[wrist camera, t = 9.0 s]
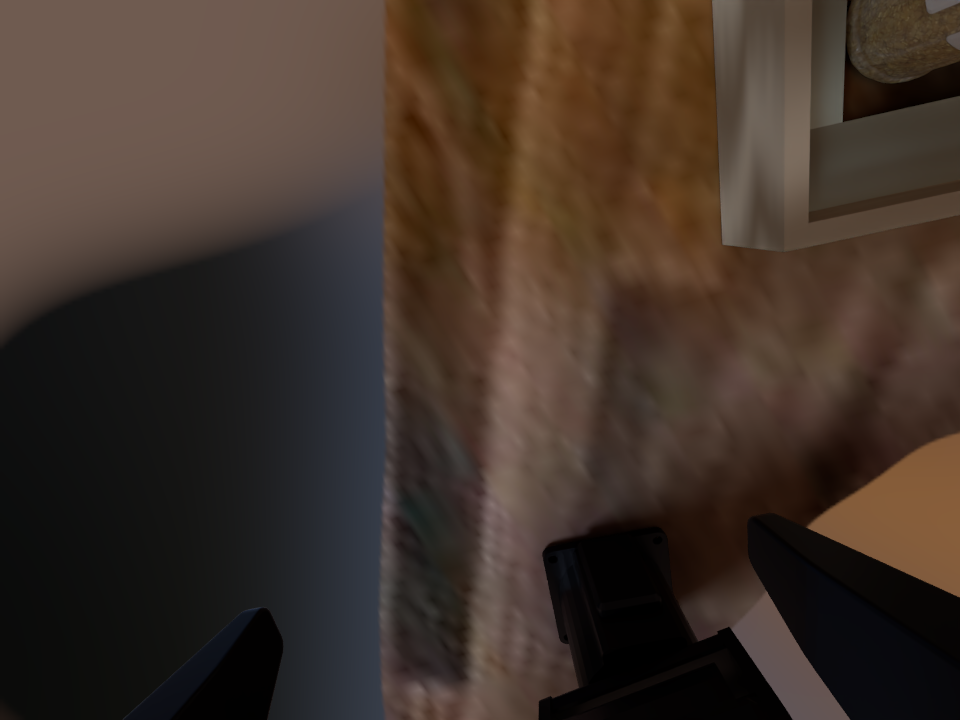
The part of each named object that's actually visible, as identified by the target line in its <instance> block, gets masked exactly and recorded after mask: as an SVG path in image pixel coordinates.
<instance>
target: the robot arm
mask: <svg viewBox="0 0 960 720" xmlns="http://www.w3.org/2000/svg"><path fill="white" fill-rule="evenodd" d="M747 529H748V555H749V559H750V562H751V564H752V566H753V568H754V570H755V572H756V573H757V575H758V577H759V579H760V580H761V582H762V584H763V585H764V587H765V589H766V591H767V592H768V594H769V596H770V597H771V599H772V601H773V602H774V604H775V606H776V607H777V609H778V611H779V613H780V614H781V616H782V618H783V619H784V621H785V623H786V625H787V626H788V628H789V630H790V632H791V633H792V635H793V637H794V638H795V640H796V642H797V643H798V645H799V646H800V648H801V650H802V651H803V653H804V655H805V656H806V658H807V659H808V661H809V662H810V663H811V665H812V666H813V668H814V669H815V671H816V672H817V674H818V675H819V676H820V678H821V679H822V681H823V682H824V683H825V685H826V686H827V688H829V690H830V692H831V693H832V695H833V696H834V697H835V699H836V700H837V702H838V703H839V704H840V706H841V707H842V709H843V710H844V711H845V713H846V714H847V716H848V717H849V718H850V720H960V597H957V596H955V595H953V594H951V593H948V592H946V591H944V590H942V589H940V588H938V587H935V586H933V585H931V584H929V583H926V582H924V581H922V580H919V579H918V578H916V577H913V576H911V575H909V574H906V573H905V572H902V571H900V570H898V569H896V568H893V567H891V566H889V565H887V564H885V563H883V562H880V561H878V560H876V559H873V558H872V557H869V556H867V555H865V554H863V553H861V552H858V551H856V550H854V549H852V548H849V547H847V546H845V545H843V544H841V543H839V542H836V541H834V540H832V539H830V538H828V537H825V536H823V535H821V534H819V533H817V532H814V531H812V530H810V529H808V528H806V527H803V526H801V525H799V524H797V523H795V522H792V521H790V520H788V519H786V518H784V517H781V516H779V515H777V514H774V513H767V514H762V515H756V516H752V517H750V518H749V519H748V524H747ZM657 536H659V537H658V538H656V539H654V538H655V537H657ZM542 556H543V561H544V566H545V571H546V576H547V580H548V585H549V590H550V595H551V600H552V604H553V609H554V614H555V619H556V624H557V629H558V633H559V638H560V641H561V642H563V643H565V644H569V646H570V650H571V655H572V659H573V664H574V668H575V672H576V677H577V681H578V686H579V688H578V689H575V690H573V691H570V692H567V693H565V694H562V695H560V696H557V697H555V698H552V697H551V696H550V697H547V698H545V699H542V700H540V701H539V720H792V718H791V716H790V715H789V713H788V712H787V710H786V709H785V707H784V706H783V704H782V703H781V701H780V700H779V698H778V697H777V695H776V694H775V693H774V691H773V690H772V688H771V687H770V685H769V684H768V682H767V681H766V679H765V678H764V677H763V675H762V674H761V672H760V671H759V669H758V668H757V666H756V665H755V663H754V662H753V660H752V659H751V658H750V656H749V655H748V653H747V652H746V650H745V649H744V647H743V646H742V644H741V643H740V642H739V640H738V639H737V637H736V636H735V634H734V633H733V631H732V630H731V628H730V627H727V628H725V629H722V630H720V631H717V633H718V634H717V635H714V636H712V637H709V638H707V639H704V640H701V641H699V642H698V640H697V638H696V636H695V634H694V632H693V630H692V629H691V627H690V625H689V623H688V621H687V619H686V617H685V615H684V613H683V612H682V610H681V608H680V606H679V604H678V602H677V600H676V598H675V597H674V595H673V592H672V582H671V571H670V561H669V551H668V541H667V536H666V535H665V533H664V531H663V530H662V529H661V528H658V527H653V528H648V529H642V530H637V531H631V532H626V533H621V534H615V535H610V536H604V537H599V538H594V539H588V540H583V541H577V542H572V543H567V544H561V545H556V546H551V547H548V548H546V549H545V550H544V551H543V553H542ZM550 556H555V557H554V558H549V557H550ZM282 654H283V639H282V636H281V634H280V632H279V630H278V627H277V625H276V624H275V621H274V619H273V617H272V615H271V612H270V611H269V610H268V609H267V608H265V607H260V608H255V609H250V610H246V611H243V612H242V613H240V614H239V615H238V616H237V617H236V618H235V619H234V620H233V621H232V622H230V623H229V624H228V625H227V626H226V627H225V628H224V629H223V630H222V631H220V632H219V633H218V634H217V635H216V636H215V637H214V638H213V639H212V640H211V641H209V642H208V643H207V644H206V645H205V646H204V647H203V648H202V649H201V650H199V651H198V652H197V653H196V654H195V655H194V656H193V657H192V658H191V659H190V660H188V661H187V662H186V663H185V664H184V665H183V666H182V667H181V668H179V669H178V670H177V671H176V672H175V673H174V674H173V675H172V676H171V677H169V678H168V679H167V680H166V681H165V682H164V683H163V684H162V685H161V686H160V687H158V688H157V689H156V690H155V691H154V692H153V693H152V694H151V695H150V696H148V698H146V699H145V700H144V701H143V702H142V703H141V704H140V705H139V706H137V707H136V708H135V709H134V710H133V711H132V712H131V713H130V714H129V715H127V716H126V717H125V718H124V719H123V720H267V719H268V714H269V710H270V706H271V701H272V697H273V692H274V688H275V684H276V680H277V675H278V671H279V666H280V663H281V658H282Z"/></svg>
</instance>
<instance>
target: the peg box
mask: <svg viewBox="0 0 960 720" xmlns="http://www.w3.org/2000/svg"><path fill="white" fill-rule="evenodd" d="M712 5H713V30H714V54H715V78H716V102H717V126H718V150H719V175H720V199H721V223H722V245H730V246H738V247H746V248H755V249H763V250H771V251H780V252H787V251H792V250H797V249H801V248H806V247H811V246H815V245H820V244H825V243H830V242H834V241H839V240H844V239H848V238H853V237H858V236H863V235H867V234H872V233H877V232H881V231H886V230H891V229H896V228H900V227H905V226H910V225H915V224H919V223H924V222H929V221H933V220H938V219H943V218H948V217H952V216H957V215H960V96H957V97H953V98H948V99H944V100H940V101H935V102H931V103H926V104H922V105H917V106H913V107H908V108H904V109H899V110H895V111H891V112H886V113H882V114H877V115H873V116H868V117H864V118H859V119H855V120H850V121H846V122H843V96H844V69H845V42H846V15H847V0H712Z"/></svg>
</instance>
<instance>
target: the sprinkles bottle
mask: <svg viewBox="0 0 960 720" xmlns="http://www.w3.org/2000/svg"><path fill="white" fill-rule="evenodd" d="M846 45H847V51H848V55H849V58H850V61H851V64H852V65H853V66H855V67H856V68H857V69H858V71H859V72H860V73H861V74H862V75H864V76H865V77H867V78H870V79H874V80H876V81H878V82H882V83H901V82H907V81H910V80H913V79H916V78H919V77H921V76H923V75H925V74H927V73H929V72H930V71H931V70H934V69H937V68H940V67H944V66H947V65H950V64H953V63H956V62H959V61H960V0H851V4H850V6H849V10H848V13H847V16H846Z"/></svg>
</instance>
